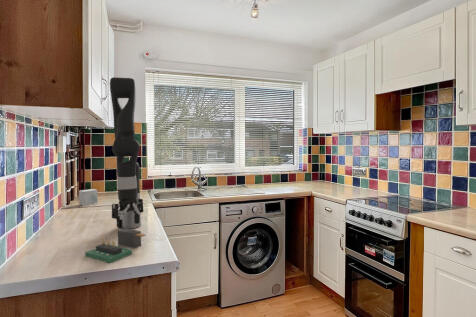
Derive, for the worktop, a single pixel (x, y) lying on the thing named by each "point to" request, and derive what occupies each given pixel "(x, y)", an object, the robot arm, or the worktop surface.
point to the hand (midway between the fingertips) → (128, 225)
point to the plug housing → (129, 238)
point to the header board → (108, 258)
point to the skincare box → (88, 197)
